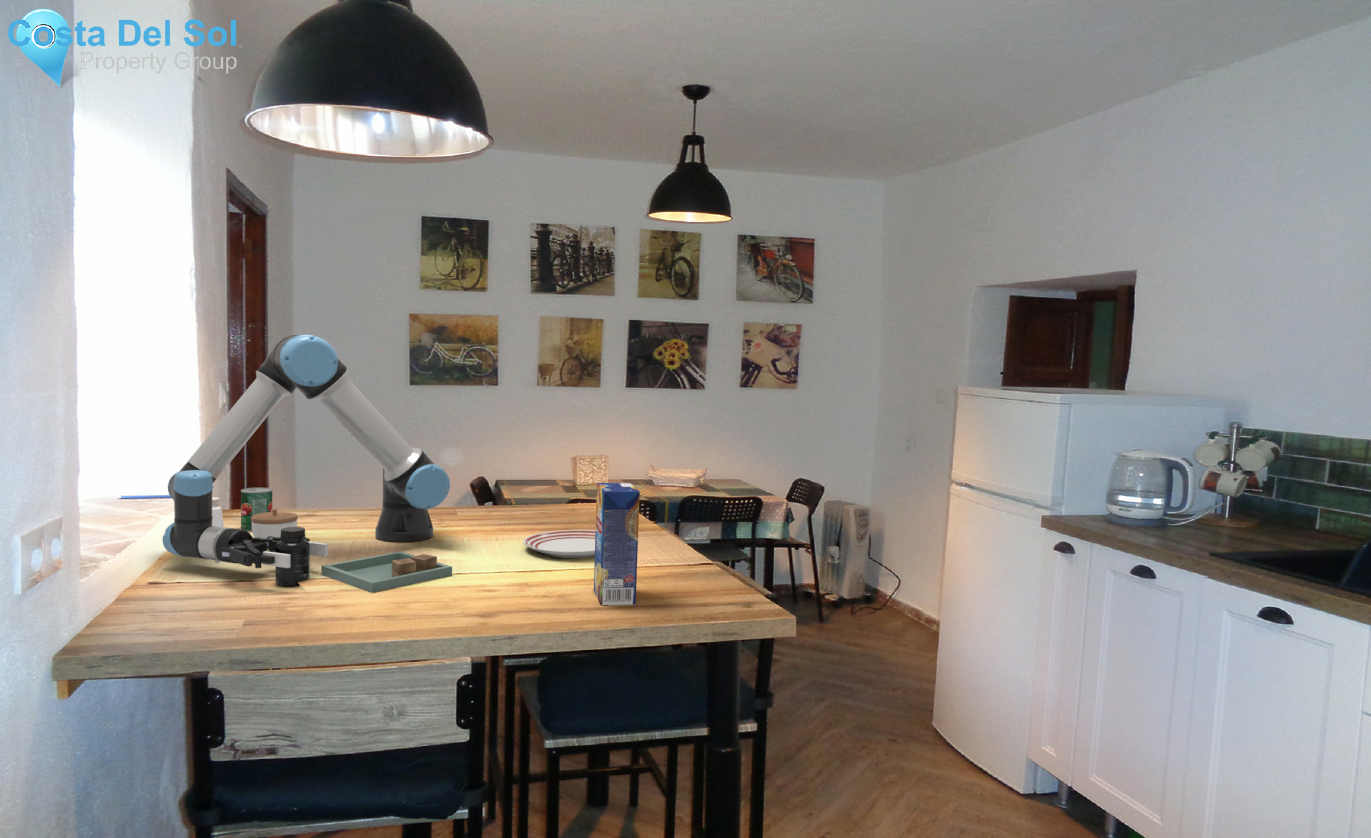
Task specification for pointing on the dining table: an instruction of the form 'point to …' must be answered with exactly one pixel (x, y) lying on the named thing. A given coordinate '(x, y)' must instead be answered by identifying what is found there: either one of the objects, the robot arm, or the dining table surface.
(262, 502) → the canned tomato
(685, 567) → the dining table surface
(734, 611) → the dining table surface
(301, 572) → the supplement bottle
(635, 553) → the juice carton
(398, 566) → the walnut block
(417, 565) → the walnut block
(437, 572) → the tray
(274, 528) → the lidded jar
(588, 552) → the dinner plate
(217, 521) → the pepper shaker
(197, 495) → the robot arm
